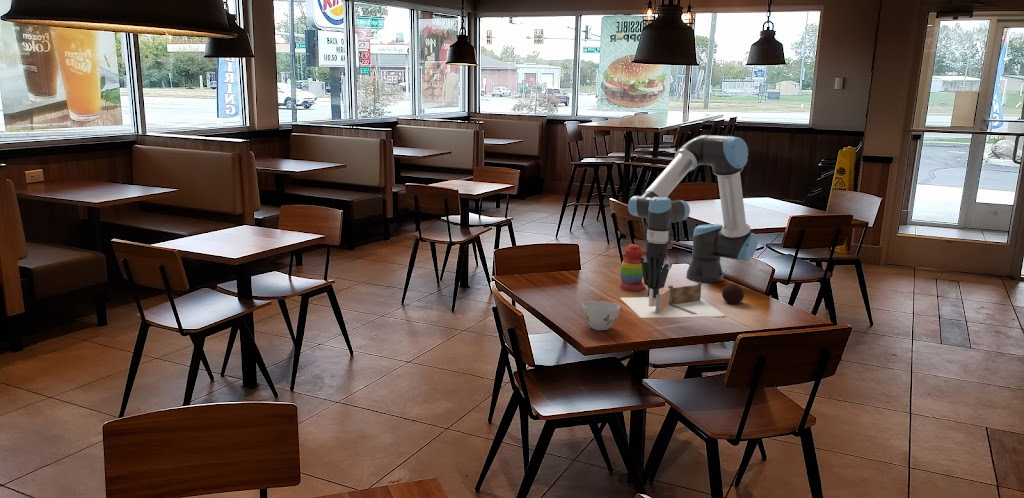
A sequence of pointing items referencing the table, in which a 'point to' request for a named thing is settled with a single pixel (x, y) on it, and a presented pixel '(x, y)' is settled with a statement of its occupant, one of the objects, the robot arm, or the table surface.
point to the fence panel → (662, 300)
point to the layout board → (672, 309)
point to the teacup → (600, 314)
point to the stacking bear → (632, 269)
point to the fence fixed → (684, 293)
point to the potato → (733, 293)
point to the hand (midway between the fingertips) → (652, 305)
